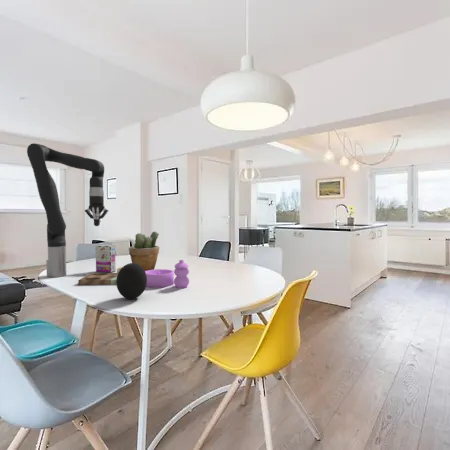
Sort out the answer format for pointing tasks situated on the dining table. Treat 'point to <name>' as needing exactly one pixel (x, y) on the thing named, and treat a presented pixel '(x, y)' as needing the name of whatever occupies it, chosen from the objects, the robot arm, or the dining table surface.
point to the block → (118, 269)
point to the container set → (168, 276)
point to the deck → (98, 279)
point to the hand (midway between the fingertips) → (96, 226)
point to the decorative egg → (131, 281)
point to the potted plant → (145, 251)
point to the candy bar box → (105, 258)
